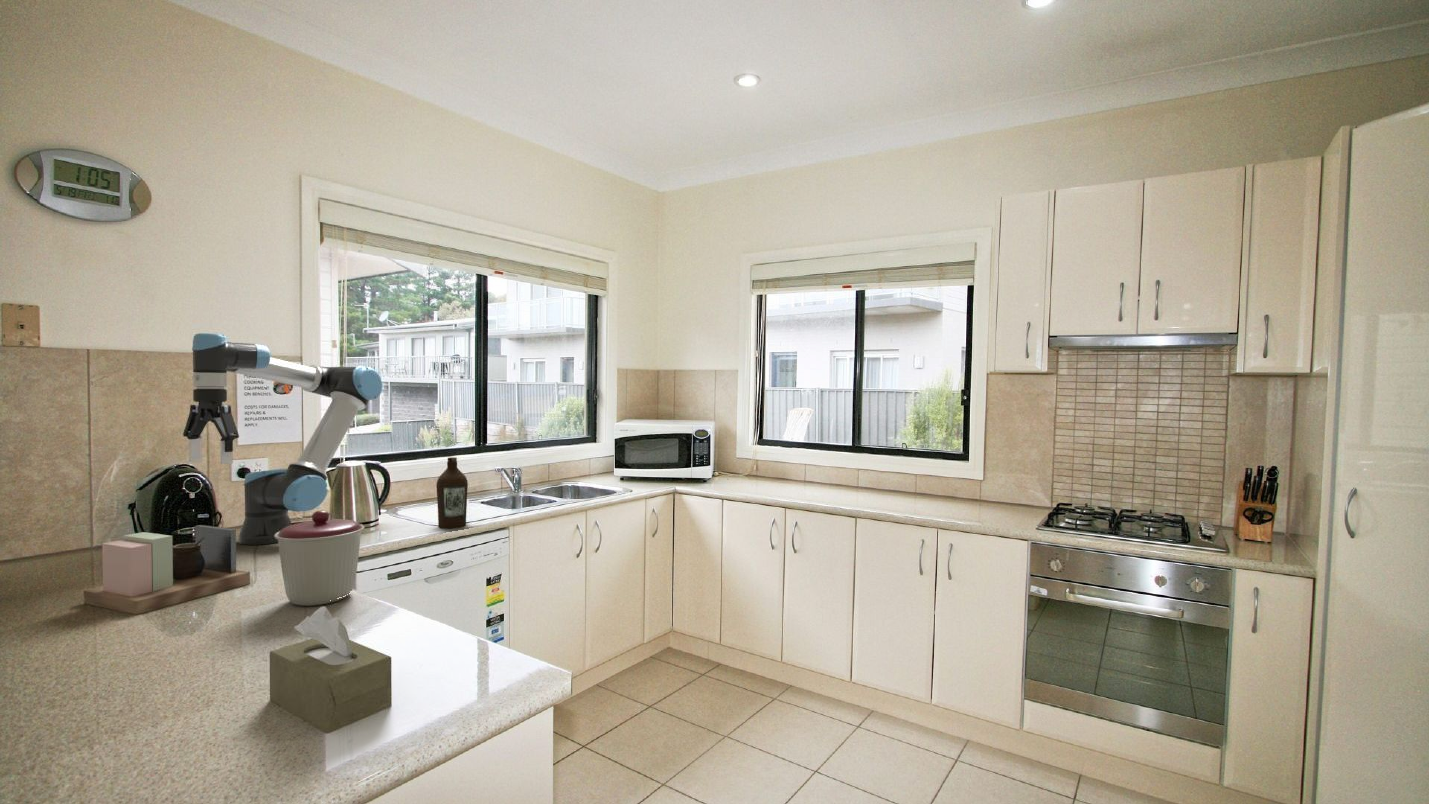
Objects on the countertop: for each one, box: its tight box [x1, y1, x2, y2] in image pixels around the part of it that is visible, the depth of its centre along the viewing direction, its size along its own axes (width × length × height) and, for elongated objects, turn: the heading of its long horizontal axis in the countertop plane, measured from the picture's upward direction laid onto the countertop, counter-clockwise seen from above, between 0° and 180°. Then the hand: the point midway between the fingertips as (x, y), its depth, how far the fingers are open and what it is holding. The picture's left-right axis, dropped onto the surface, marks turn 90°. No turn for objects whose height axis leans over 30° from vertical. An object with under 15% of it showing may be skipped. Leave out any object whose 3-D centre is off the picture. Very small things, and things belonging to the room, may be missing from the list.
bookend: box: [194, 524, 237, 574], centre depth 164 cm, size 1×14×11 cm, turn 69°
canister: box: [274, 510, 365, 607], centre depth 151 cm, size 18×18×21 cm
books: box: [101, 531, 174, 597], centre depth 148 cm, size 8×11×12 cm
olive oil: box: [435, 456, 469, 529], centre depth 233 cm, size 11×11×25 cm
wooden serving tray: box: [83, 569, 251, 615], centre depth 155 cm, size 24×20×3 cm
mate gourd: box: [173, 537, 205, 579], centre depth 158 cm, size 7×8×10 cm
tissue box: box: [269, 606, 393, 734], centre depth 101 cm, size 19×10×16 cm, turn 57°
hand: (210, 462), depth 181 cm, fingers open, 13 cm apart
